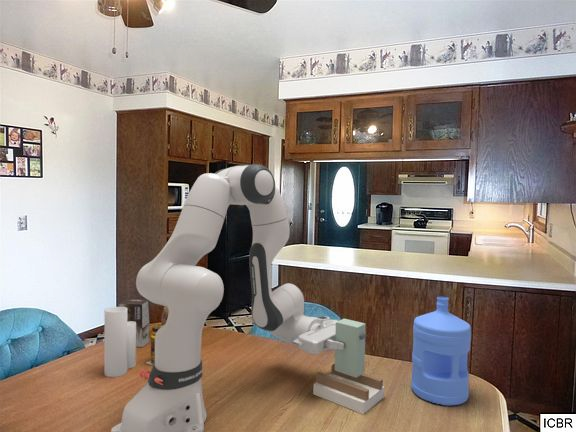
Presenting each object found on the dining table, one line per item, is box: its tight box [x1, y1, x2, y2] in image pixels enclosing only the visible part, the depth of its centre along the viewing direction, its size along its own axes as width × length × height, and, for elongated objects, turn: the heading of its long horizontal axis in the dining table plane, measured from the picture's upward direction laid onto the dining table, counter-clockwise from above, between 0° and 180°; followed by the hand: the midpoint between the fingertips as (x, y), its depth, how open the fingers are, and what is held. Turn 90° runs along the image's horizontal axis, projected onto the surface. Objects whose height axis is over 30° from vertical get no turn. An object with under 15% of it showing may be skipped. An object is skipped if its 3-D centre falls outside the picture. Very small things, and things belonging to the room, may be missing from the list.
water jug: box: [410, 296, 472, 406], centre depth 116 cm, size 16×16×28 cm
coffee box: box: [118, 298, 151, 348], centre depth 150 cm, size 9×6×16 cm
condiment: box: [146, 323, 163, 366], centre depth 135 cm, size 7×8×12 cm
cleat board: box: [312, 363, 385, 415], centre depth 114 cm, size 12×16×6 cm
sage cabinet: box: [334, 318, 367, 378], centre depth 113 cm, size 4×8×14 cm, turn 51°
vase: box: [103, 306, 137, 378], centre depth 128 cm, size 11×7×20 cm, turn 174°
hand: (349, 343), depth 114 cm, fingers closed on sage cabinet, 4 cm apart
